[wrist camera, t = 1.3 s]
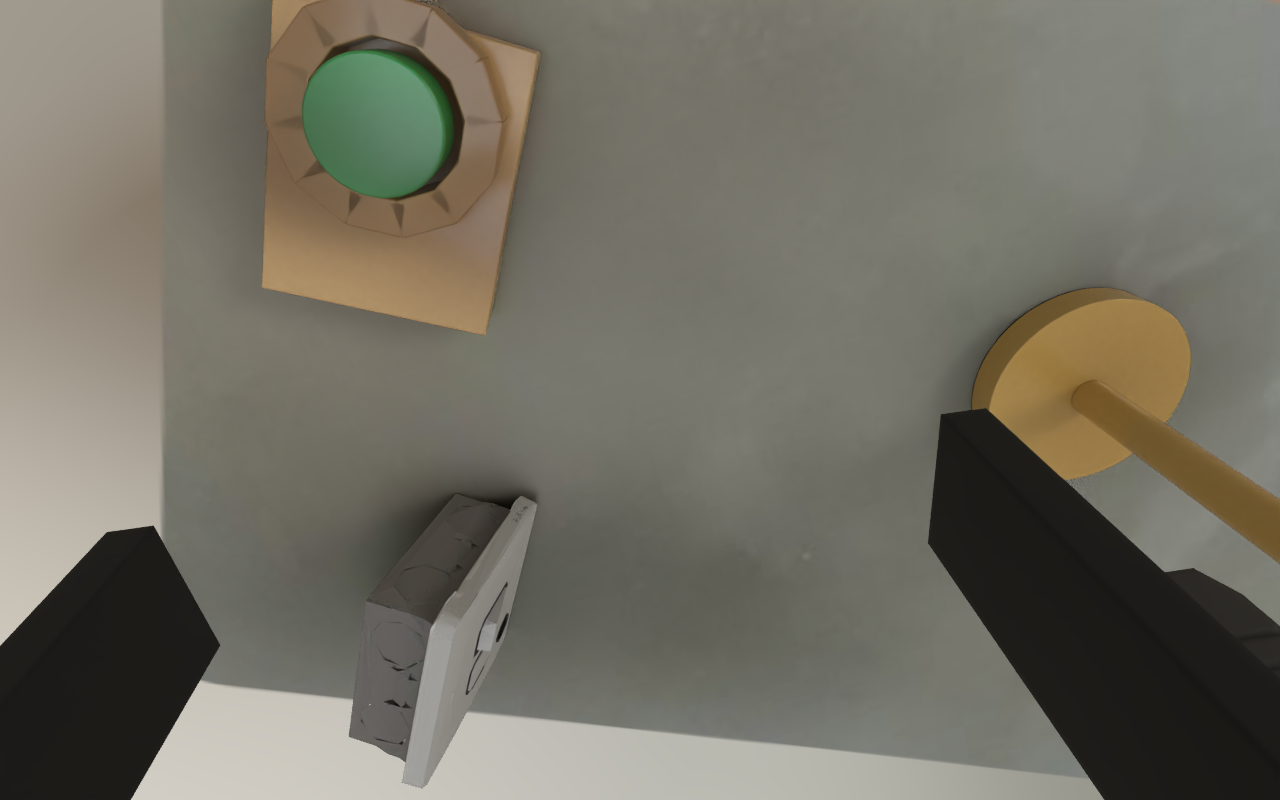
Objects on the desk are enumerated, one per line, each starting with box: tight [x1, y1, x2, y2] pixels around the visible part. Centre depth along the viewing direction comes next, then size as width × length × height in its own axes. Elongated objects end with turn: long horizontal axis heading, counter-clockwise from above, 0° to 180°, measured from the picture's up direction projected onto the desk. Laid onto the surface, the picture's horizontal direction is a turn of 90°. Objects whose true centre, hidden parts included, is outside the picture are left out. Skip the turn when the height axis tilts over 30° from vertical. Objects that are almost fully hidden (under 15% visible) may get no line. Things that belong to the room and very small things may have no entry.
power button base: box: [262, 0, 541, 335], centre depth 24 cm, size 10×8×4 cm
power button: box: [302, 49, 454, 198], centre depth 21 cm, size 4×4×2 cm
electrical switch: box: [349, 494, 537, 788], centre depth 30 cm, size 9×5×9 cm, turn 165°
